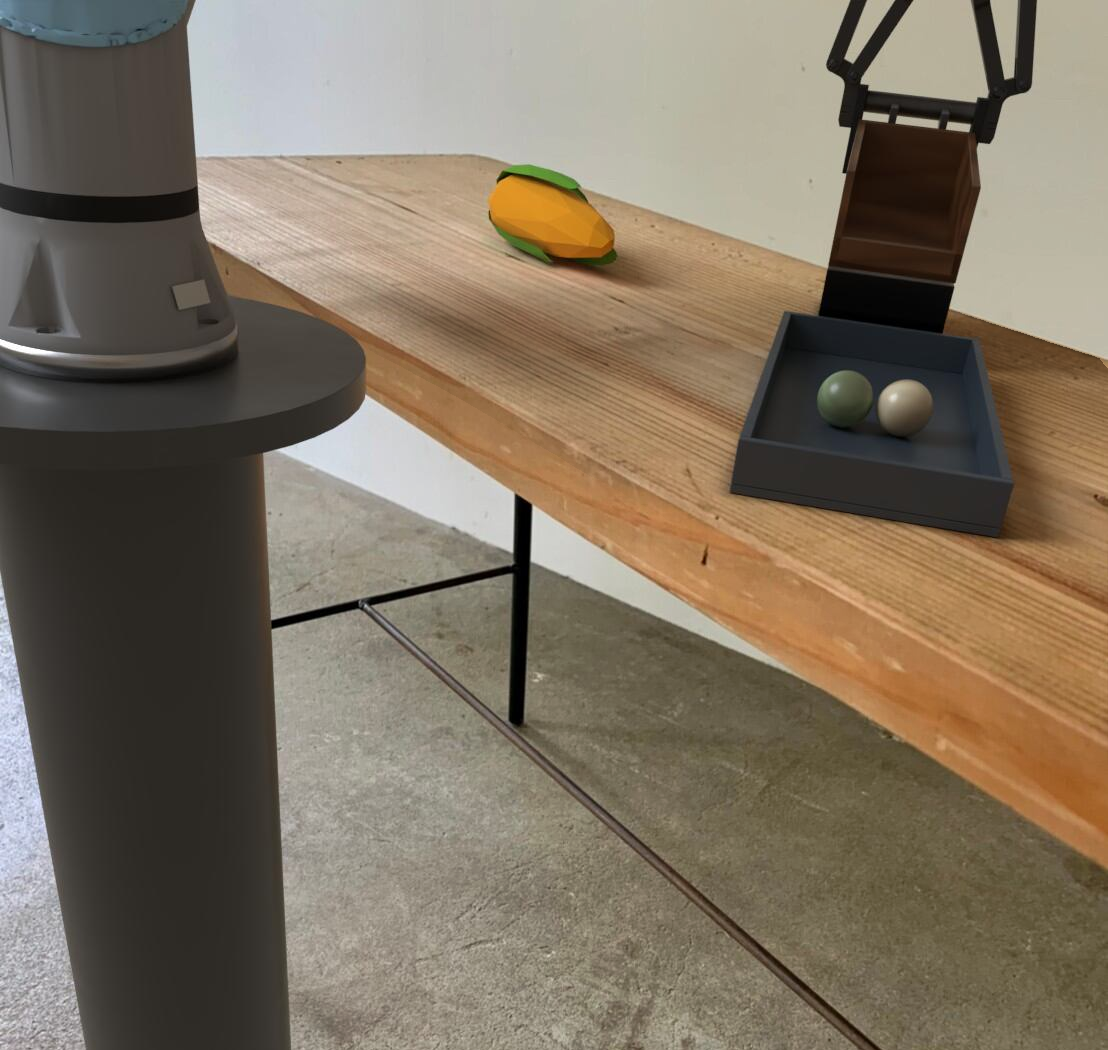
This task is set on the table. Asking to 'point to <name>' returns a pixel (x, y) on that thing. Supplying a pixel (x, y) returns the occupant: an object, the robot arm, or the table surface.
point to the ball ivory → (904, 408)
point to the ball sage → (845, 399)
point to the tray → (876, 428)
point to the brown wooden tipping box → (908, 190)
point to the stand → (886, 299)
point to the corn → (549, 216)
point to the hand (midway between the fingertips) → (904, 178)
